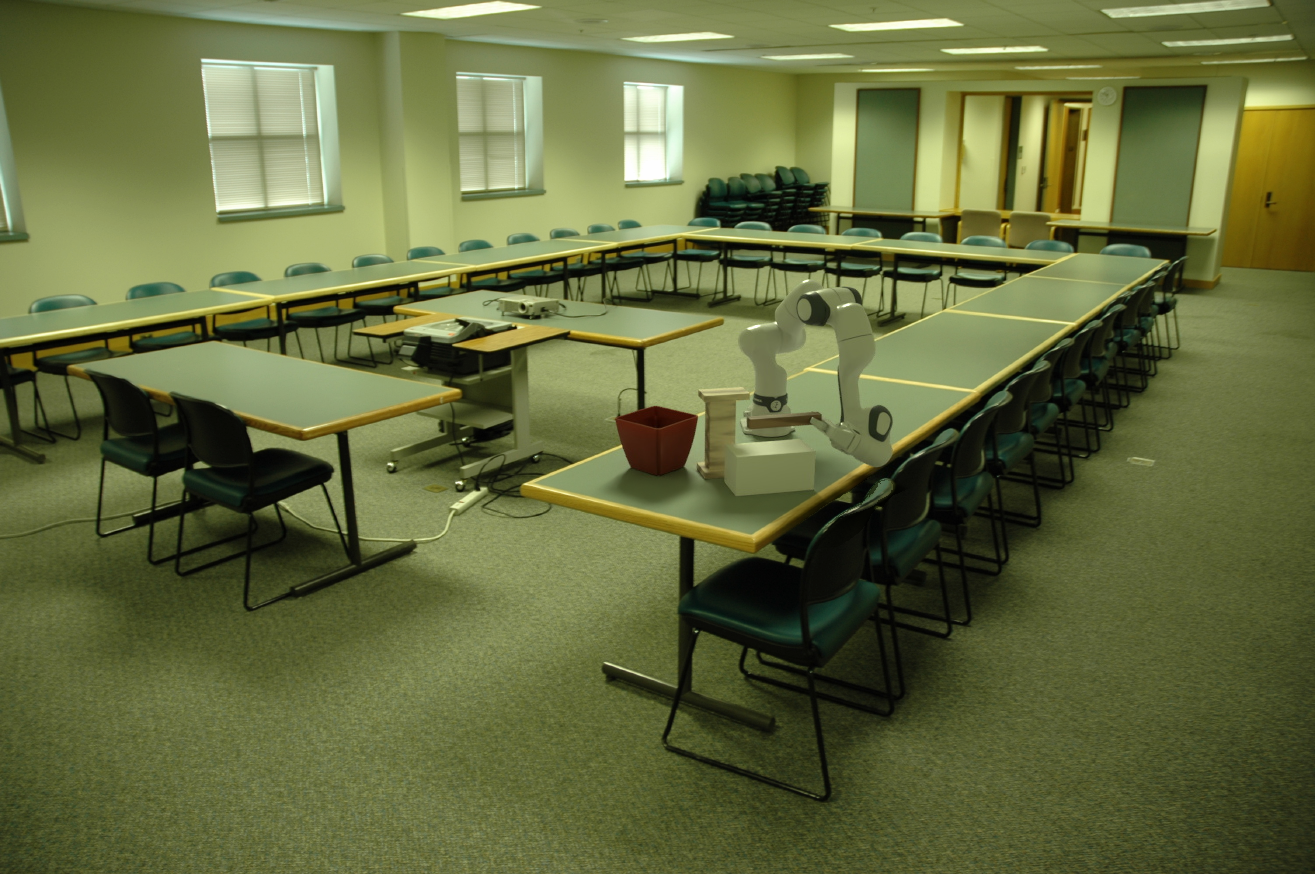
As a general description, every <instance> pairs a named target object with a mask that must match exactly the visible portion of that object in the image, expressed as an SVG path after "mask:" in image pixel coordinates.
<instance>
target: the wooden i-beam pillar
mask: <svg viewBox="0 0 1315 874" xmlns="http://www.w3.org/2000/svg"><path fill="white" fill-rule="evenodd" d="M697 395H698V397H699V398H700V399H701V400H702V401H703V402H704V404H705V405H704V406H705V407H704V408H705V409H704V461H699V462H698V461H697V462H696V469H697V471H698V472H699V473H700V475H701V476H702V477H703V479H704V480H708V479H709V480H710V479H720V478H721V479H723V478H724V477H725V445H726V444H736V427H737V426H736V424H737V423H736V422H737V421H736V420H737V418H736V417H737V416H736V414H737V413H736V412H737V401H748V400H749V401H750V400H751V393H750V392H749V391H748V390H747V389H745V388H744V387H743V386H734V387H719V388H718V387H717V388H702V389H701V388H699V389H697Z"/></svg>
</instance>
